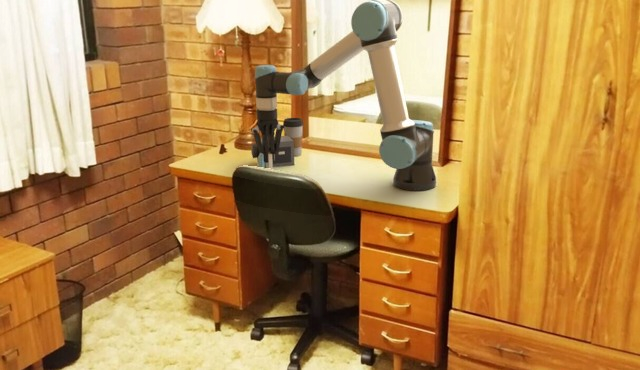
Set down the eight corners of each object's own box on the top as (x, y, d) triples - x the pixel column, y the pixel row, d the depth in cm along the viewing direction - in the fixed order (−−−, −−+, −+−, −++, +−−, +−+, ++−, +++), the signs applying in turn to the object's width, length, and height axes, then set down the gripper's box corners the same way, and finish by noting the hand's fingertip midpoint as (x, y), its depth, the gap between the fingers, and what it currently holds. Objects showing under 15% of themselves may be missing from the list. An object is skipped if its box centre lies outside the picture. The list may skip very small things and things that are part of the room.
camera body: (294, 165, 248) (293, 138, 245) (255, 169, 244) (254, 142, 240) (288, 159, 257) (287, 133, 253) (250, 163, 252) (249, 136, 249)
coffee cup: (281, 153, 265) (280, 118, 261) (299, 151, 268) (298, 116, 264) (288, 158, 258) (287, 122, 253) (306, 155, 261) (306, 120, 256)
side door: (261, 166, 244) (260, 148, 242) (265, 166, 244) (264, 148, 242) (257, 175, 233) (256, 157, 230) (261, 175, 233) (260, 157, 230)
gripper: (277, 104, 234) (279, 165, 242) (246, 108, 228) (249, 170, 235) (287, 107, 228) (289, 169, 236) (255, 112, 222) (258, 175, 229)
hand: (269, 170), depth 235 cm, fingers closed
